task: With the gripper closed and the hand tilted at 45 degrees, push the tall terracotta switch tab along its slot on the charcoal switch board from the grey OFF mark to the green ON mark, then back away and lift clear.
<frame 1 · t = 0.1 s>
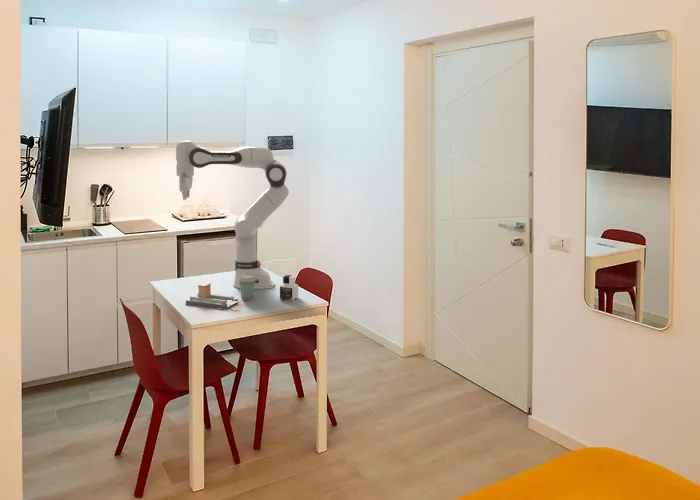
hand: (186, 198, 330), 48 cm above the table, tool pointing down, fingers open, 8 cm apart
switch board: (212, 303, 308), on the table
coffee cup: (247, 299, 317), on the table
switch tab: (204, 291, 308), point 6 cm above the table, slide at 0.0 cm
medicine bottle: (289, 299, 319), on the table
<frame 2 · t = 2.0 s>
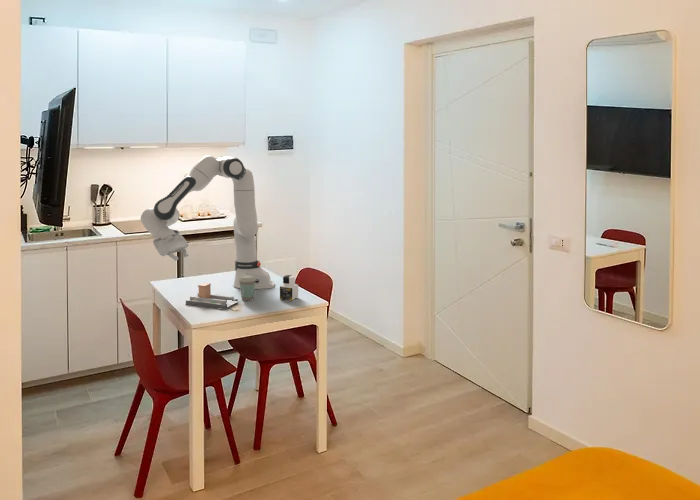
hand: (182, 258, 309), 22 cm above the table, tool tilted 45°, fingers open, 7 cm apart
nothing on the table moved.
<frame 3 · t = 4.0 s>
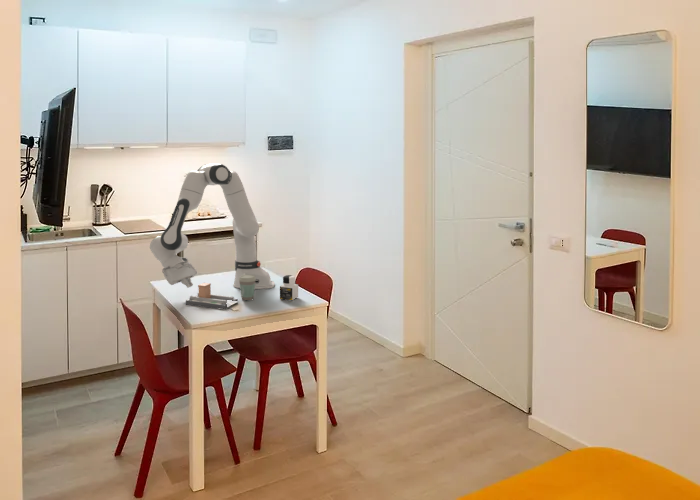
hand: (190, 286, 310), 8 cm above the table, tool tilted 45°, fingers closed
nothing on the table moved.
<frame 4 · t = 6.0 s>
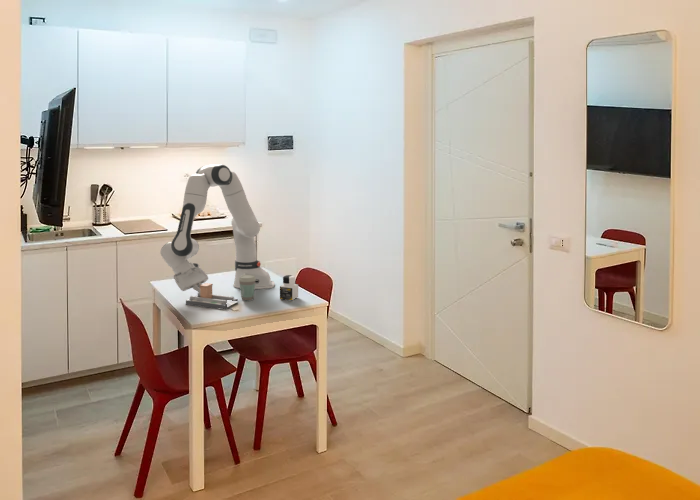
hand: (202, 292, 309), 5 cm above the table, tool tilted 45°, fingers closed, pressing on switch tab
switch tab: (206, 291, 308), point 6 cm above the table, slide at 1.0 cm, touching gripper
everything else where it was.
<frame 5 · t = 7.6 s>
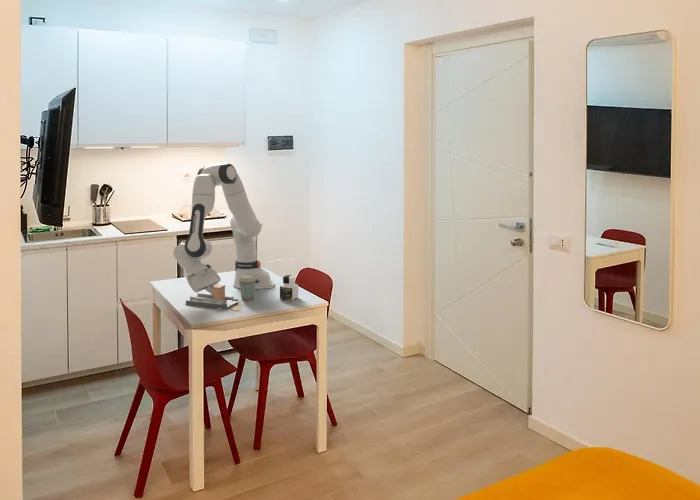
hand: (214, 293, 306), 5 cm above the table, tool tilted 45°, fingers closed, pressing on switch tab
switch tab: (219, 293, 305), point 6 cm above the table, slide at 8.2 cm, touching gripper
everything else where it was.
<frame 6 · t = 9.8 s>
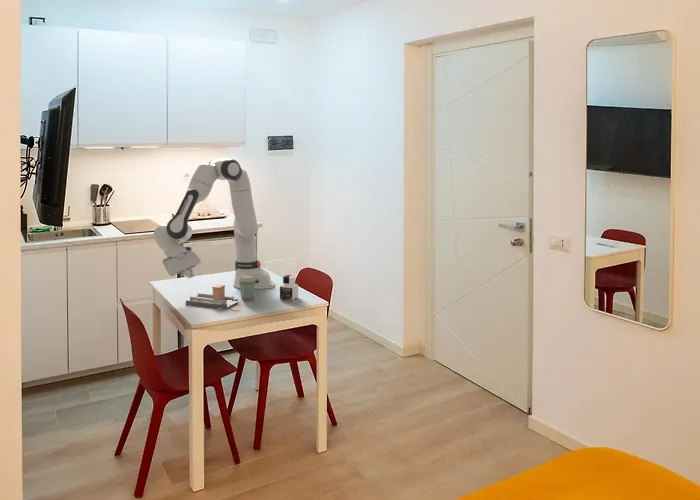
hand: (191, 276, 309), 12 cm above the table, tool tilted 40°, fingers closed
switch tab: (218, 293, 306), point 6 cm above the table, slide at 8.0 cm
everything else where it was.
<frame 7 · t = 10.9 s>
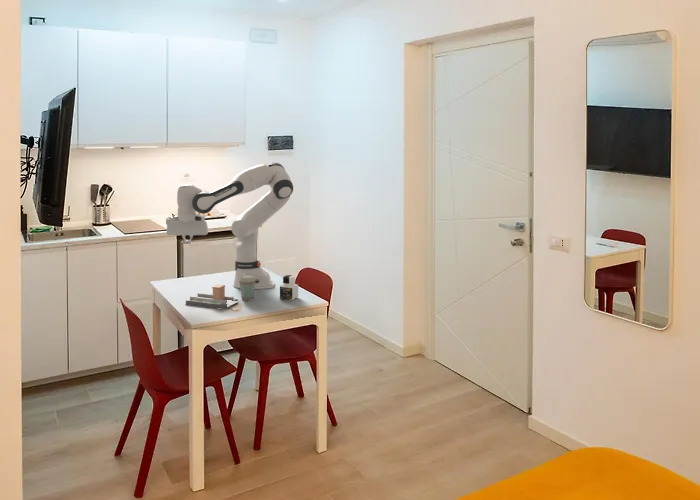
hand: (187, 243, 317), 27 cm above the table, tool pointing down, fingers closed
nothing on the table moved.
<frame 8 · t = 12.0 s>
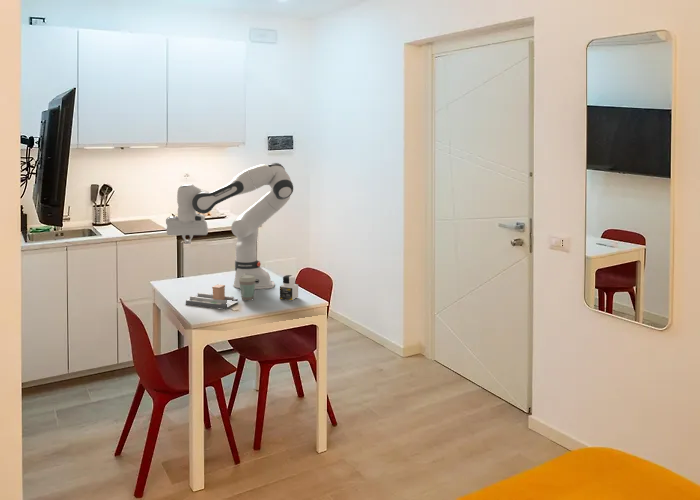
hand: (187, 243, 317), 27 cm above the table, tool pointing down, fingers closed
nothing on the table moved.
at the end: switch tab slide at 8.0 cm; coffee cup moved 0.2 cm from its start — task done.
